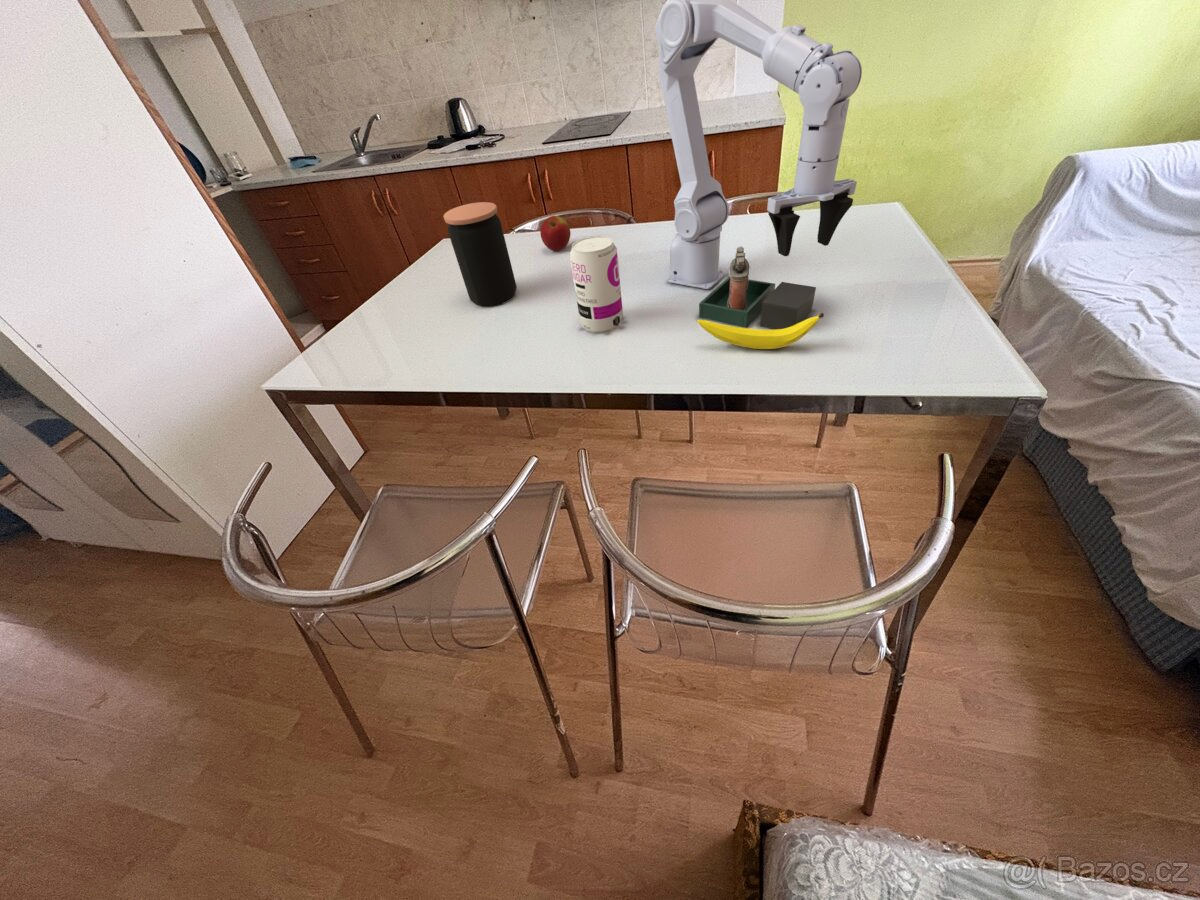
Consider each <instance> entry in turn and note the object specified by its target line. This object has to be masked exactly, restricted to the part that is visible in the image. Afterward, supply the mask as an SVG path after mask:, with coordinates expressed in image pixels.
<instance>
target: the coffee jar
mask: <svg viewBox="0 0 1200 900" xmlns="http://www.w3.org/2000/svg"><path fill="white" fill-rule="evenodd" d="M497 212H498V206H497V205H496V204H495V203H493V202H488V201H482V202H481V201H480V202H479V201H478V202H471V203H467V204H462V205H459V206H456V207H454V208H451V209H449V210H448V211H446V212H445V213H444V214H443V215H442V218H443V220H444V222H445V224H447V225H448V226H447V233H448V236H449V240H450V242H451V245H452V248H453V251H454V256H455V258H456V261H457V263H458V267H459V270H460V273H461V277H462V280H463V283H464V286H465V289H466V292H467V295H468V298H469V300H470V301H471V302H473V304H474V305H476V307H477V306H478V307H482V308H484V307H485V308H489V307H496V306H499V305H503V304H505V303H507V302H509V301H511V300H512V299H513V298H515V295H516V292H517V287H518V286H517V282H516V278H515V275H514V271H513V267H512V262H511V258H510V254H509V249H508V246H507V243H506V238H505V234H504V230H503V226H502V222H501V218H499V216H498V215H497Z"/></svg>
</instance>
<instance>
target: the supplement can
mask: <svg viewBox="0 0 1200 900" xmlns="http://www.w3.org/2000/svg"><path fill="white" fill-rule="evenodd" d="M569 260H570V261H569V262H570V269H571V274H572V280H573V285H574V286H573V287H574V292H575V297H576V303H577V304H576V305H577V310H578V317H579V323H580V326H581V327H582V328H583V329H585V330H586V331H587V332H589V333H594V334H605V333H609V332H612V331H614V330H616V329H617V328H619V327H620V325H621V324H623V322H624V309H623V299H622V289H621V278H620V267H619V256H618V248H617V247H616V245H615V243H614V242H613V239H612V238H611V237H608V236H603V235H597V236H596V235H595V236H588V237H584V238H580V239H578V240H577V241H575V242H574V243H572V245H571V250H570V254H569Z"/></svg>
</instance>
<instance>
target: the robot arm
mask: <svg viewBox="0 0 1200 900" xmlns="http://www.w3.org/2000/svg"><path fill="white" fill-rule="evenodd" d="M806 31H807V27H806V26H804V25H802V24H801V23H798V24H795V25H793V26H791V25H786V26H785V27H783V28H781V29H779V31H777V30H775V29H774V28H773V27H772V26H770V25H768V24H767V23H766V22H764V21H762V19H761V20H760V19H759V18H758V17H757V16H755V15H753V14H752V13H750V12H749V11H747V10H746V9H745V8H744V7H742V6H741V5H739V4H737V3H736V2H734V0H666V1H665V3H664V4H663V6H662V8H661V11H660V13H659V16H658V19H657V21H656V23H655V25H654V32H655V36H656V43H657V46H658V52H659V53H658V77H659V82H660V88H661V92H662V97H663V103H664V107H665V112H666V118H667V122H668V126H669V132H670V137H671V143H672V146H673V151H674V156H675V161H676V166H677V172H678V176H679V180H680V187H679V190H678V193H677V194H676V196H675V199H674V201H673V204H674V211H675V212H674V228H675V230H676V234H675V235H674V236H673V238H672V240H671V242H670V247H669V273H670V274H669V276H670V278H669V279H668V283H670V284H676V285H681V286H687V287H693V288H698V289H703V290H710V289H712V287H713V286H715V285H716V284H717V283H718V282H719V281H720V280H721V279H723V278H724V277H725V276H726V275H727V272H726V271H724V270H720V269H719V268H720V246H721V232H722V231H723V225H724V224H725V223H726V222H727V220H728V218H729V215H730V206H729V202H728V200H727V198H726V197H725V195H724V193H723V189H722V184H721V183H720V182H719V181H718V180H717V179H715V178H714V177H713V176H712V174H711V169H710V163H709V158H708V152H707V146H706V145H707V144H706V140H705V139H706V138H705V133H704V129H703V122H702V117H701V112H700V111H701V110H700V105H699V100H698V94H697V93H698V92H697V88H696V82H695V76H694V75H695V72H696V70H697V68H698V66H699V64H700V62H701V60H702V58H703V57H704V56H705V55H706V54H707V52H708V51H709V50H710V49H711V48H712V47H713V45H714V44H715V43H716V42H717V41H718V39H722V40H724V41H726V42H728V43H730V44H732V45H733V46H735V47H737V48H740V49H742V50H744V51H746V52H747V53H749V54H751V55H753V56H755V57H757V58H759V59H761V60H762V69H763V72H764V74H765V75H767V76H769V77H770V78H772V79H773V80H775V81H776V82H778V83H779V84H781V85H783V86H785V87H786V88H788V89H790V90H791V91H793V92H794V93H795V94H798V97H799V101H800V104H801V105H802V108H803V115H802V126H801V133H800V140H799V149H798V156H797V163H796V171H795V177H794V184H793V187H792V188H791V189H789V190H786V191H784V192H781V193H779V194H777V195H774V196H771V197H768V198H767V208H766V211H767V213H768V216H769V218H770V220H771V221H770V222H771V223H772V226H773V229H774V233H775V238H776V244H777V253H778V254H779V255H781V256H783V257H789V256H790V253H791V249H792V243H793V237H794V234H795V230H796V227H797V225H798V222H799V221H800V219H801V216H800V215H799V214H797V213H795V210H793V208H797V207H801V206H806V205H810V204H813V203H817V202H819V224H818V231H817V243H818V244H821V245H822V246H824V247H827V246H829V244H830V243H831V240H832V238H833V236H834V234H835V231H836V229H837V228H838V225H839V224H840V223H841V221H842V220H843V218H844V216H845V215H846V214H847V213H848V211H849V210H850V209H851V208H852V206H853V203H854V199H853V198H852V197H850V196H853V195H855V193H856V188H857V183H858V181H857V180H855V179H851V178H843V179H838V180H836V175H837V169H838V163H839V160H840V159H839V158H840V153H841V148H842V143H843V138H844V132H845V128H846V127H845V126H846V121H847V116H848V110H849V105H850V97H852V96H853V95H854V93H856V91H857V90H858V88H859V85H860V83H861V81H862V74H863V68H862V64H861V61H860V59H859V58H858V56H857V55H855V54H854V53H853V51H852V50H851V49H843V50H840V51H837V52H835V53H834V51H833V49H834V45H833V44H832V43H830V42H824V43H821V42H819V41H818V40H816V39H815V38H812V37H811V36H809V35H807V34H805V32H806Z"/></svg>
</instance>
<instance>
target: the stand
mask: <svg viewBox="0 0 1200 900" xmlns="http://www.w3.org/2000/svg"><path fill="white" fill-rule="evenodd" d="M816 291H817V286H810V285H806V284H800V283H799V284H798V283H793V282H792V283H791V282H786V281H781V282H780V283H779V284H778V285H777V286H776V287H775V290H774V291H773V292H772V293H771V294H770V295H769V296H768V297H767V298H766V299H765V300H764V301H763V302H762V311H761V312H760V322H759V326H760V327H762V328H766V329H770V330H775V329H784V328H788V327H791V326H793V325H796V324H798V323H800V322H802V321H804V320H806V319H808V316H809V315H810V314H811V313H812V311H813V306H814V301H815V296H816Z"/></svg>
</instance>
